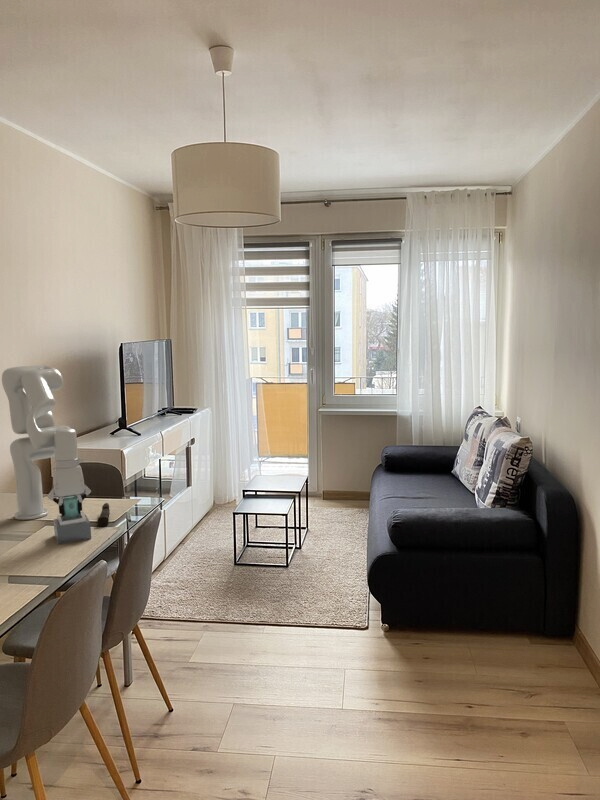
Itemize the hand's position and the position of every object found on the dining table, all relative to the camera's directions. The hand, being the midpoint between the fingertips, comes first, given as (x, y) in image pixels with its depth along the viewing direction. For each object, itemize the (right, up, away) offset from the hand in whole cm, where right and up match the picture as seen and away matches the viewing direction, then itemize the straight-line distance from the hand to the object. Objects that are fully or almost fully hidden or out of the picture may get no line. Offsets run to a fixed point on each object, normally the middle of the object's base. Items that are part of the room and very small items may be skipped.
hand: (71, 513), depth 229 cm
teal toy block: (0, 0, 0) cm, 0 cm away
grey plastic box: (0, -9, +1) cm, 9 cm away
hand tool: (+5, -6, +22) cm, 23 cm away
